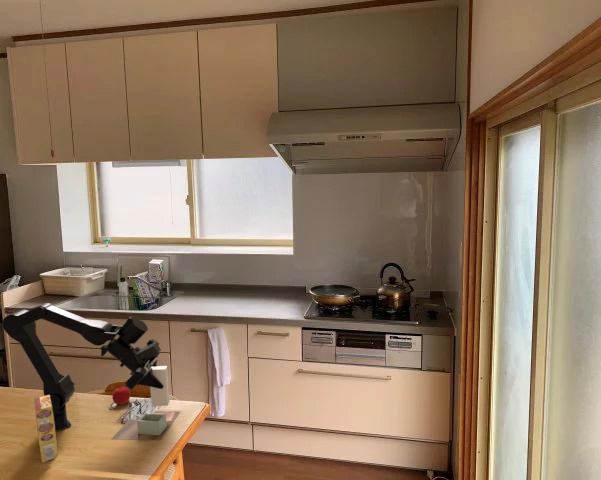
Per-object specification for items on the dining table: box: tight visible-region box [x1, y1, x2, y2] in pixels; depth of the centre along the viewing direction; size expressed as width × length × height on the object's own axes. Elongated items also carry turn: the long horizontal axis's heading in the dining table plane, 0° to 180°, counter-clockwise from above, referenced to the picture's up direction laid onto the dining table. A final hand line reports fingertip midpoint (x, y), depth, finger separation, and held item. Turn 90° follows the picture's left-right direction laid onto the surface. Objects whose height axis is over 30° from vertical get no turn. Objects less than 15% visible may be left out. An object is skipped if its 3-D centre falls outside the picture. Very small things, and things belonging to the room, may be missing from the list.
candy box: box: [33, 395, 59, 463], centre depth 127 cm, size 9×4×15 cm, turn 33°
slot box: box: [137, 413, 167, 435], centre depth 136 cm, size 7×5×4 cm, turn 80°
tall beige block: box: [149, 365, 171, 407], centre depth 142 cm, size 5×3×12 cm, turn 93°
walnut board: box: [111, 410, 181, 441], centre depth 139 cm, size 15×16×1 cm
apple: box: [108, 386, 131, 410], centre depth 154 cm, size 8×8×6 cm
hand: (163, 385), depth 142 cm, fingers closed on tall beige block, 3 cm apart
